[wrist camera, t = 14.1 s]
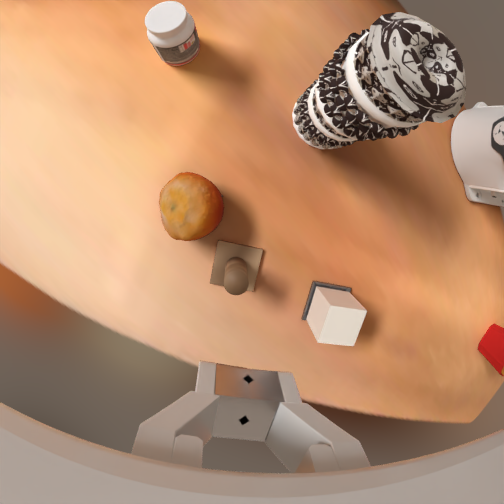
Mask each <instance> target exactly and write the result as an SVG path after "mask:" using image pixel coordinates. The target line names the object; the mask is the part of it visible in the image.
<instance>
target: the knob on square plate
mask: <svg viewBox="0 0 504 504" xmlns="http://www.w3.org/2000/svg"><path fill="white" fill-rule="evenodd" d="M262 252H263V249H260V248H255V247H250V246H245V245H240V244H236V243H231V242H226V241H221V240H218V244H217V249H216V254H215V259H214V264H213V269H212V274H211V280H210V284H215V285H221V286H224V287H225V289H226V291H227V292H229V293H230V294H232V295H240V294H243V293H244V292H245V291H246V290H247V291H252V292H253V290H254V285H255V281H256V277H257V273H258V269H259V264H260V260H261V256H262Z"/></svg>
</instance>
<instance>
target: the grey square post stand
mask: <svg viewBox="0 0 504 504" xmlns="http://www.w3.org/2000/svg"><path fill="white" fill-rule="evenodd" d="M316 286H318V287H324V288H329V289H335V290H341V291H346V292H350V291H351V288H350V287H346V286H340V285H335V284H329V283H324V282H318V281H313V282H312V285H311V288H310V292H309V295H308V299H307V302H306V305H305V308H304V312H303V315H302V320H306V319H307V315H308V312H309V309H310V306H311V303H312V299H313V296H314V293H315V289H316Z"/></svg>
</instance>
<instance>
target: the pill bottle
mask: <svg viewBox="0 0 504 504" xmlns="http://www.w3.org/2000/svg"><path fill="white" fill-rule="evenodd" d="M145 25H146V27H147V36H148V39H149V41H150V42H151V44H152V45H153V47H154V48H155V50H156V52H157V53H158V55H159V56H160V58H161V59H162V60H163V61H164V62H165V63H167V64H169V65H173V66H180V65H184V64H187V63H189V62H191V61H192V60H193V59H194V58H195V57H196V56H197V55H198V53H199V50H200V41H199V38H198V34H197V30H196V26H195V23H194V20H193V18H192V16H191V15H190V14H189V13H187V11H186V9H185V7H184V6H183V5H182V4H181V3H178V2H175V1H166V2H162V3H159V4H157V5H156V6H154V7H153V8H151V9H150V11H149V12H148V13H147V15H146V18H145Z"/></svg>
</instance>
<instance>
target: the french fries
mask: <svg viewBox="0 0 504 504" xmlns="http://www.w3.org/2000/svg"><path fill="white" fill-rule="evenodd" d="M478 350H479V351H480V352H481V353H482V354H483V355H484V357H485V358H486V359H487V360H488V361H489V362H490V363H491V364H492V366H493V367H494V368H495V369H496V370H497V371H498V372H499V374H500V375H502V376H504V328H502V327H500V326H498V325H496V324H493V325H492V326H490V328H489V329H488V330H487V332H486V334H485V335H484V337H483V338H482V340H481V341H480V343H479V346H478Z"/></svg>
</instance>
